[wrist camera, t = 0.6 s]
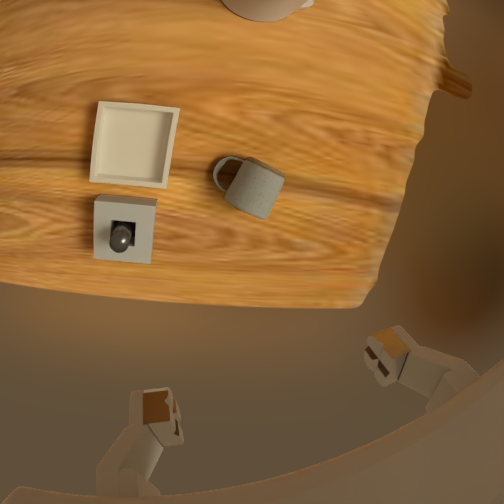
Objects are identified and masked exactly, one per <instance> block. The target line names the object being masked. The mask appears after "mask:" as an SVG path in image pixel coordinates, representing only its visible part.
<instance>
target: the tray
mask: <svg viewBox="0 0 504 504" xmlns="http://www.w3.org/2000/svg"><path fill="white" fill-rule="evenodd" d="M179 111H180V108H174V107H165V106H156V105H147V104H135V103H122V102H104V101H99V103H98V109H97V116H96V122H95V130H94V137H93V146H92V155H91V166H90V179H89V182H98V183H111V184H122V185H133V186H144V187H154V188H163V189H166V188H167V181H168V174H169V168H170V161H171V155H172V149H173V143H174V138H175V132H176V127H177V121H178V116H179Z"/></svg>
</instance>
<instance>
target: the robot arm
mask: <svg viewBox="0 0 504 504" xmlns="http://www.w3.org/2000/svg"><path fill="white" fill-rule="evenodd" d="M222 2H223V3H224V4H225V5H226V6H227V7H228V8H229V9H230V10H231V11H232V12H234V13H236V14H237V15H239V16H241V17H244V18H246V19H249V20H253V21H260V22H270V21H276V20H280V19H282V18H285V17H287V16H288V15H290V14H291V13H293V12H294V11H296V10H300V9H306V8H309V7H310V6H311V5H312V4H313V0H222ZM367 344H368V345H369V346H368V347H367V348H366V349H365V352H364V359H365V363H366V365H367V367H368V368H369V369H370V370H371V371H374V372H375V378H376V380H377V381H378V382H379V383H380V385H381V387H384V386H387V385H389V384H391V383H394V382H396V381H398V382H400V383H402V384H403V385H405V386H407V387H409V388H411V389H413V390H415V391H417V392H418V393H421V394H422V395H424V396H426V397H428V398H430V401H429V402H428V404H427V406H426V410H427V412H428V413H427V414H425V415H423V416H422V417H420V418H418V419H416V420H415V421H413V422H411V423H409V424H407V425H406V426H404V427H402V428H400V429H398V430H396V431H395V432H392V433H390V434H388V435H386V436H384V437H382V438H380V439H378V440H376V441H373V442H371V443H369V444H367V445H365V446H363V447H360V448H358V449H356V450H353V451H351V452H348V453H346V454H343V455H341V456H338V457H336V458H333V459H331V460H328V461H325V462H322V463H320V464H317V465H314V466H311V467H308V468H304V469H302V470H298V471H295V472H292V473H288V474H285V475H281V476H278V477H274V478H270V479H266V480H262V481H258V482H254V483H249V484H245V485H240V486H235V487H229V488H224V489H218V490H212V491H205V492H198V493H189V494H180V495H168V496H160V491H159V490H158V489H157V488H155V487H154V486H153V485H152V484H151V483H150V482H149V481H148V479H149V477H150V475H151V472H152V470H153V469H154V466H155V464H156V463H157V460H158V458H159V456H160V454H161V452H162V450H163V447H167V446H174V445H180V444H184V440H183V432H182V429H181V427H180V425H179V423H180V421H181V417H180V412H179V407H178V404H177V402H176V400H175V399H174V398H173V396H172V391H171V389H170V388H169V387H167V388H159V389H150V390H140V391H132V392H131V395H130V424H129V426H126V427H125V429H124V430H123V431H122V433H121V434H120V435H119V437H118V438H117V440H116V441H115V442H114V444H113V445H112V447H111V448H110V449H109V451H108V452H107V454H106V455H105V456H104V458H103V459H102V461H101V462H100V463H99V465H98V466H97V471H96V496H85V495H75V494H66V493H59V492H52V491H45V490H39V489H34V488H29V487H22V486H21V487H18V488H16V489H15V490H14V491H13V492H12V493H11V494H10V495H9V496H8V497H7V498H6V499H5V500H4V501H3V502H2V504H504V359H503V360H502V361H501V362H499V363H498V364H497V365H496V366H494V367H493V368H492V369H491V370H489V371H488V372H487V373H486V374H484V375H483V376H482V377H479V375H478V374H477V373H476V372H475V371H474V370H473V369H472V368H471V367H470V366H469V364H468V363H467V362H466V361H465V360H462V359H459V358H455V357H453V356H450V355H447V354H444V353H441V352H438V351H436V350H432V349H430V348H427V347H424V346H422V347H420V346H419V345H418V344H417V343H416V342H415V341H414V340H413V339H412V338H411V337H410V335H409V334H408V333H407V332H406V331H405V330H404V329H403V328H402V327H401V326H399V325H397V326H394V327H392V328H390V329H386V330H383V331H381V332H378V333H376V334H373V335H370V336H369V337H368V339H367Z"/></svg>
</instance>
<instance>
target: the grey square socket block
mask: <svg viewBox="0 0 504 504" xmlns="http://www.w3.org/2000/svg"><path fill="white" fill-rule="evenodd" d="M156 205H157V199H150V198H140V197H129V196H118V195H107V194H100V195H99V196H98V197H97V198H96V199H95V201H94V259H104V260H114V261H125V262H136V263H147V264H151V256H152V246H153V234H154V224H155V214H156ZM115 220H117V221H128V222H136V230H135V237H134V236H131V239H130V242H129V245H128V248H127V250H126V251H125V252H122V253H116V252H114V251H113V250H112V249H111V248H110V245H109V241H110V238H111V236H112V234H113V232H114V224H115Z"/></svg>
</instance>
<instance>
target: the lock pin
mask: <svg viewBox="0 0 504 504" xmlns="http://www.w3.org/2000/svg"><path fill="white" fill-rule="evenodd" d="M133 229H134V222H128V221H118V223H117V225H116V227H115V230H114V232H113V234H112V236H111V238H110V241H109V245H110V248H111V249H112V250H113V251H114V252H116V253H122V252H125V251H126V250H127V248H128V245H129V242H130V239H131V235H132V232H133Z"/></svg>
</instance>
